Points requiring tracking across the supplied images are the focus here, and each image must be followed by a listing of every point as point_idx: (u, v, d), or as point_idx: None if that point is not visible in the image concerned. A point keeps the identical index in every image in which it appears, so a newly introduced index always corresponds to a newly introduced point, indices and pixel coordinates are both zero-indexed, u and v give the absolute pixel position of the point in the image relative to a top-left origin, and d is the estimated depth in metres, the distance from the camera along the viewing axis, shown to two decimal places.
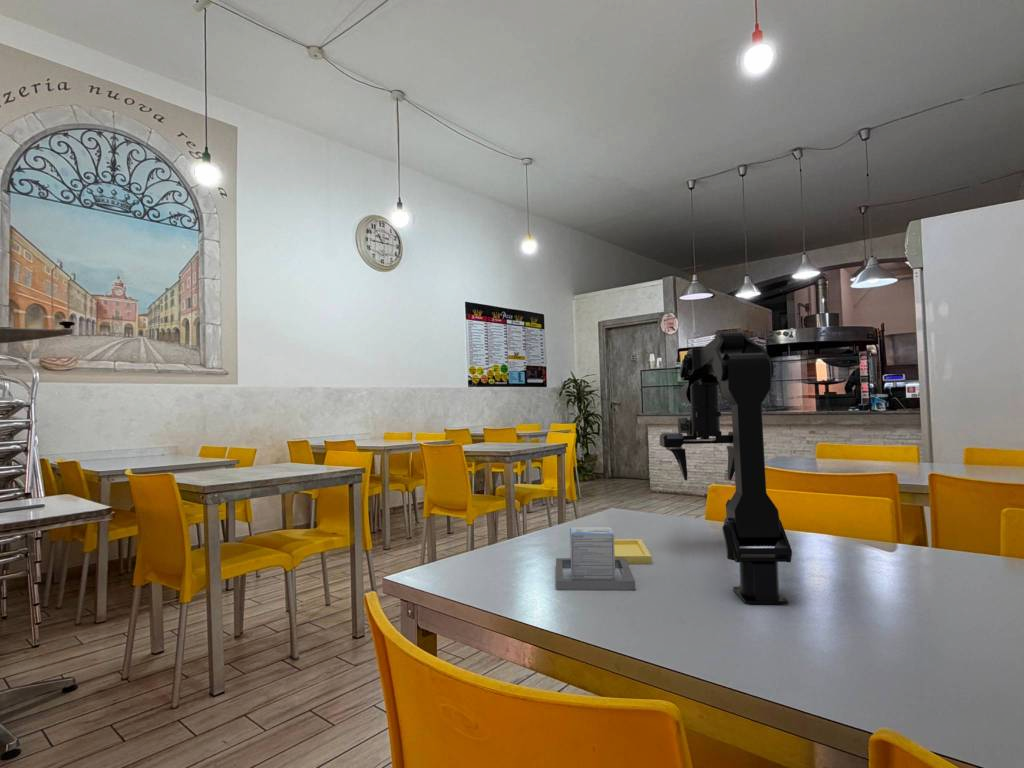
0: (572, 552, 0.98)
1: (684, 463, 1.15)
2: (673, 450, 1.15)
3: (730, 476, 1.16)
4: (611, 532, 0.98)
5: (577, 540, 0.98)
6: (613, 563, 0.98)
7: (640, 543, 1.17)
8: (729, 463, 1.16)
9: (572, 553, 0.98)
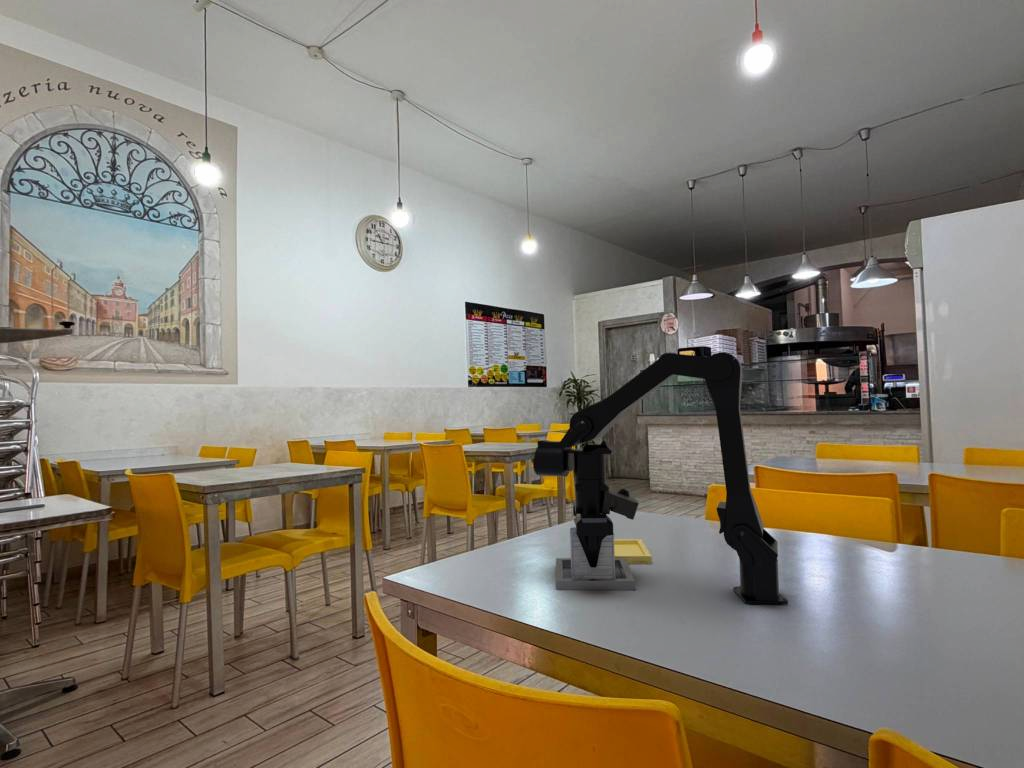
0: (572, 552, 0.98)
1: None
2: None
3: None
4: None
5: (577, 540, 0.98)
6: (613, 563, 0.98)
7: (640, 543, 1.17)
8: None
9: (572, 553, 0.98)
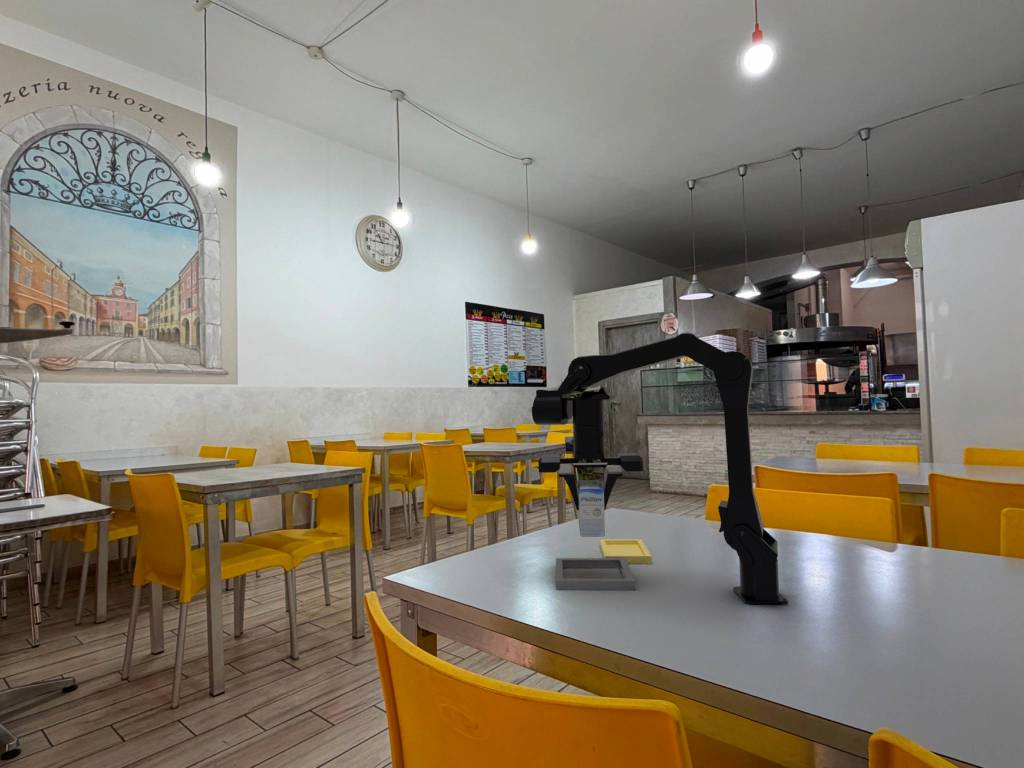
0: None
1: (574, 490, 0.99)
2: (560, 475, 0.98)
3: None
4: (596, 480, 1.04)
5: None
6: None
7: (640, 543, 1.17)
8: None
9: None
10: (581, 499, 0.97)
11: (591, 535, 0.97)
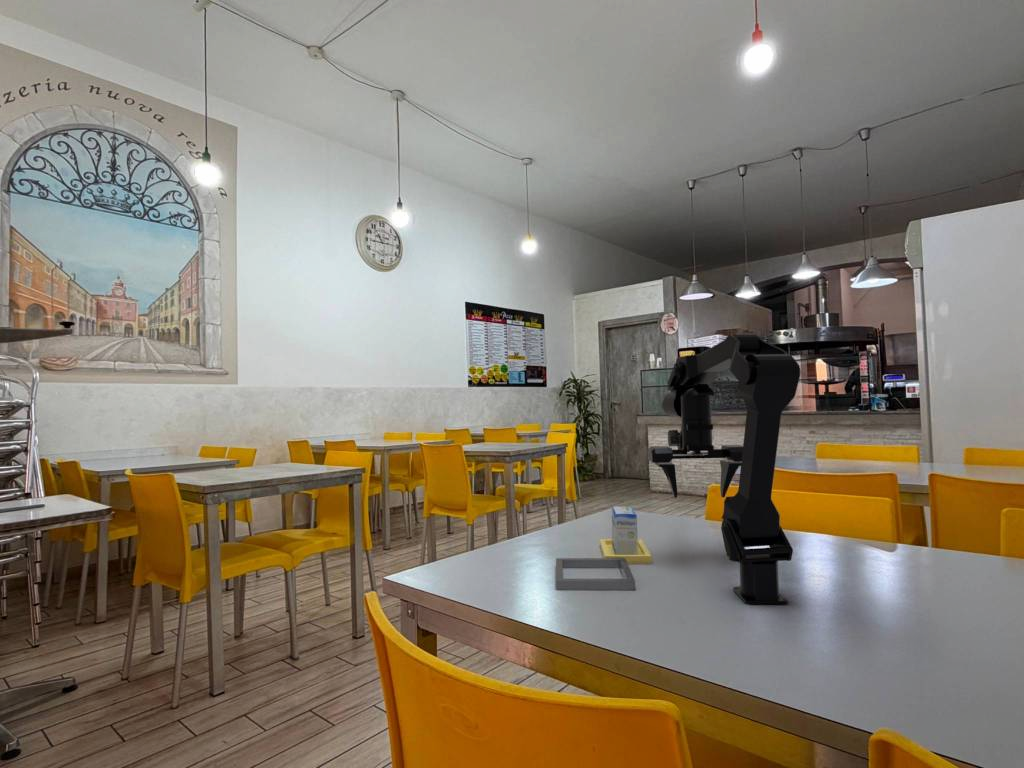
0: None
1: (674, 479, 1.07)
2: (662, 466, 1.07)
3: (723, 493, 1.08)
4: None
5: None
6: None
7: (640, 543, 1.17)
8: (722, 479, 1.08)
9: None
10: (617, 522, 1.11)
11: None
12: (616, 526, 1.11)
